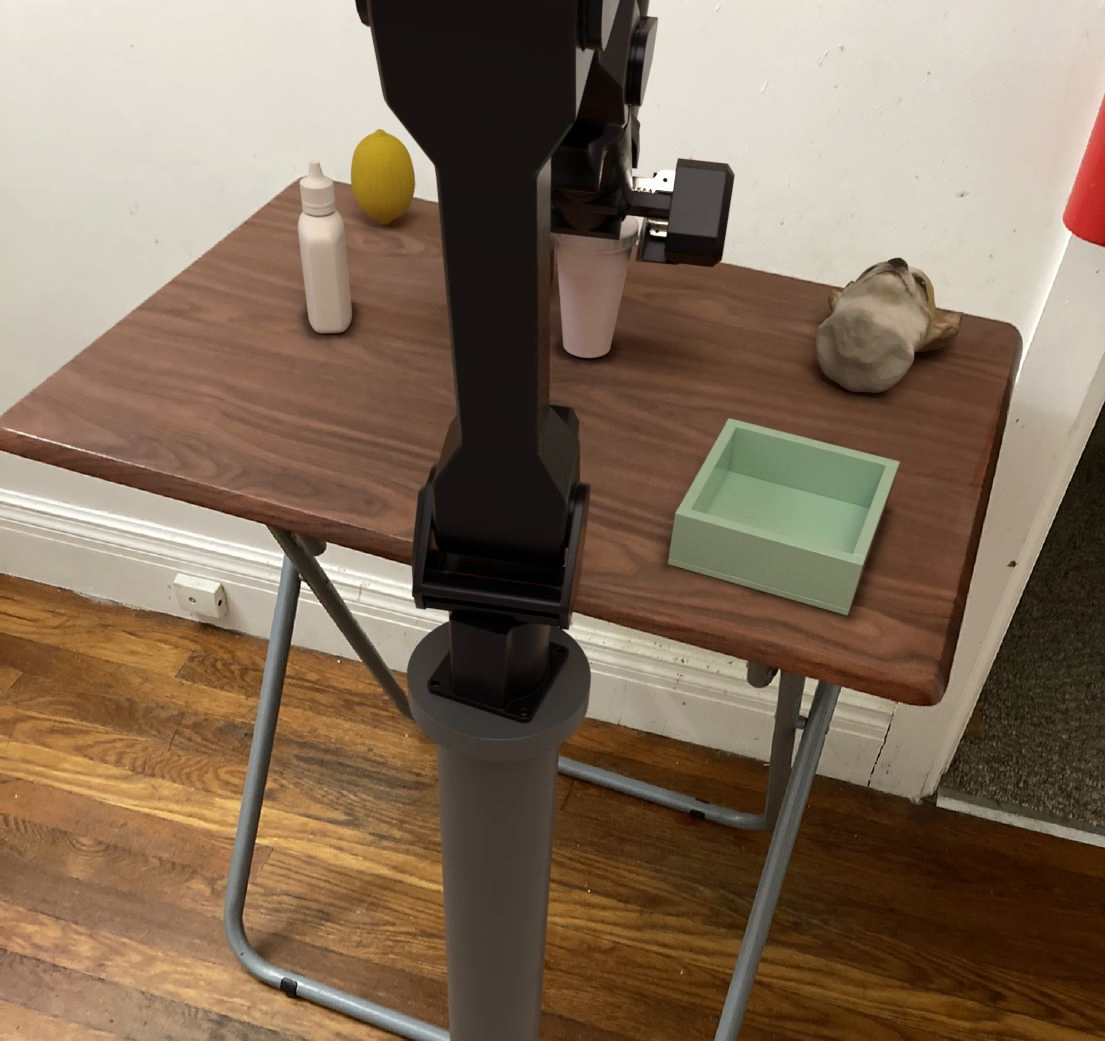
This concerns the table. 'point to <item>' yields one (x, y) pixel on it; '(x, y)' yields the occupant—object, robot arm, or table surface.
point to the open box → (783, 515)
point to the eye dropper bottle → (323, 254)
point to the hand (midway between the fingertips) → (596, 249)
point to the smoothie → (592, 287)
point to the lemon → (382, 176)
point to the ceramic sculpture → (881, 327)
